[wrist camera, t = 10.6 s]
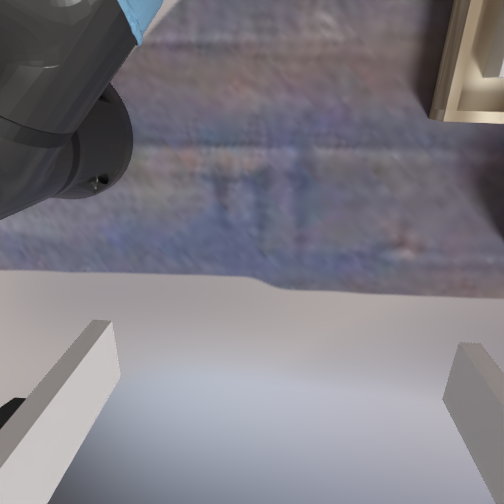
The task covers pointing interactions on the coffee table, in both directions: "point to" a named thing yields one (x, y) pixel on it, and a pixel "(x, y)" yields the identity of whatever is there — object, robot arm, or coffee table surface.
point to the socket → (497, 51)
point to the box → (469, 66)
